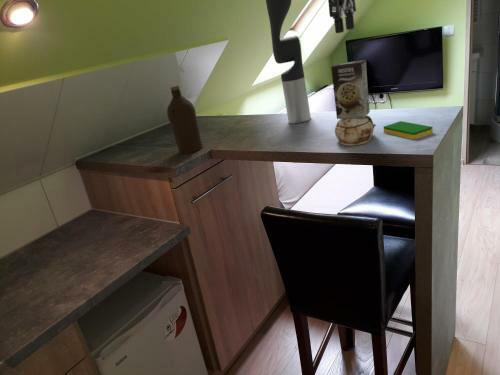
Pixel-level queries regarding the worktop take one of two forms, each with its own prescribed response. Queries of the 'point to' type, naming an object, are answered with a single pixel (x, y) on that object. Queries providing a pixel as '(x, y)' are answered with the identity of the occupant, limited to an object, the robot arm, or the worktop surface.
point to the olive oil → (184, 123)
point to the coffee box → (350, 89)
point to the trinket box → (354, 130)
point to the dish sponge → (408, 130)
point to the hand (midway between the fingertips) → (345, 31)
